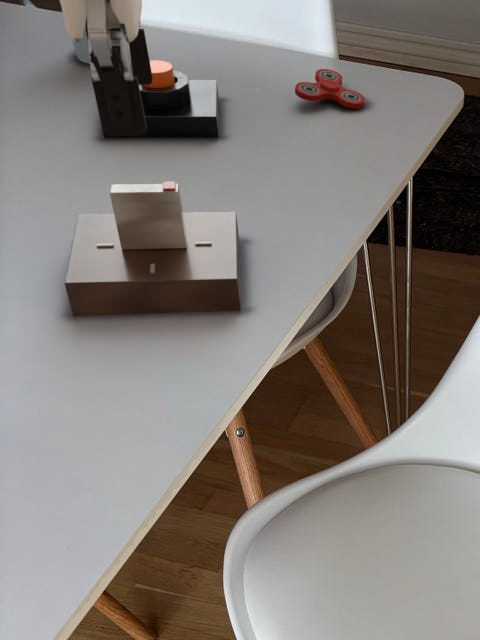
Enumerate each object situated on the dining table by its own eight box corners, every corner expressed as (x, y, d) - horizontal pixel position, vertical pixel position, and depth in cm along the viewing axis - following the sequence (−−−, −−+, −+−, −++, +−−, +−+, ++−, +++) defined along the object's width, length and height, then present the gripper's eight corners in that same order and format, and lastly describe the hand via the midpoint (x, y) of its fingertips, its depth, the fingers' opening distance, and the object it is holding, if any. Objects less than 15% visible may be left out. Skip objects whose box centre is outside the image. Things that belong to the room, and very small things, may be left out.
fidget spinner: (290, 84, 116) (289, 96, 117) (347, 110, 115) (346, 121, 116) (323, 63, 121) (322, 74, 122) (378, 87, 120) (377, 98, 121)
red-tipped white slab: (121, 249, 88) (108, 190, 84) (122, 240, 89) (110, 181, 85) (186, 248, 89) (177, 189, 85) (187, 239, 90) (177, 180, 86)
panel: (72, 315, 86) (63, 281, 84) (85, 245, 94) (77, 211, 91) (241, 310, 88) (236, 277, 86) (239, 242, 96) (235, 209, 94)
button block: (104, 138, 109) (95, 98, 106) (110, 100, 115) (103, 61, 112) (218, 137, 110) (213, 98, 108) (219, 100, 117) (214, 62, 114)
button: (140, 90, 109) (136, 72, 107) (141, 77, 111) (138, 59, 110) (174, 90, 109) (171, 73, 108) (175, 77, 112) (173, 60, 110)
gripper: (32, -193, 73) (89, 66, 85) (-2, -130, 61) (69, 157, 74) (141, -190, 74) (181, 65, 87) (126, -128, 63) (175, 155, 75)
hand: (129, 107), depth 80 cm, fingers open, 9 cm apart
